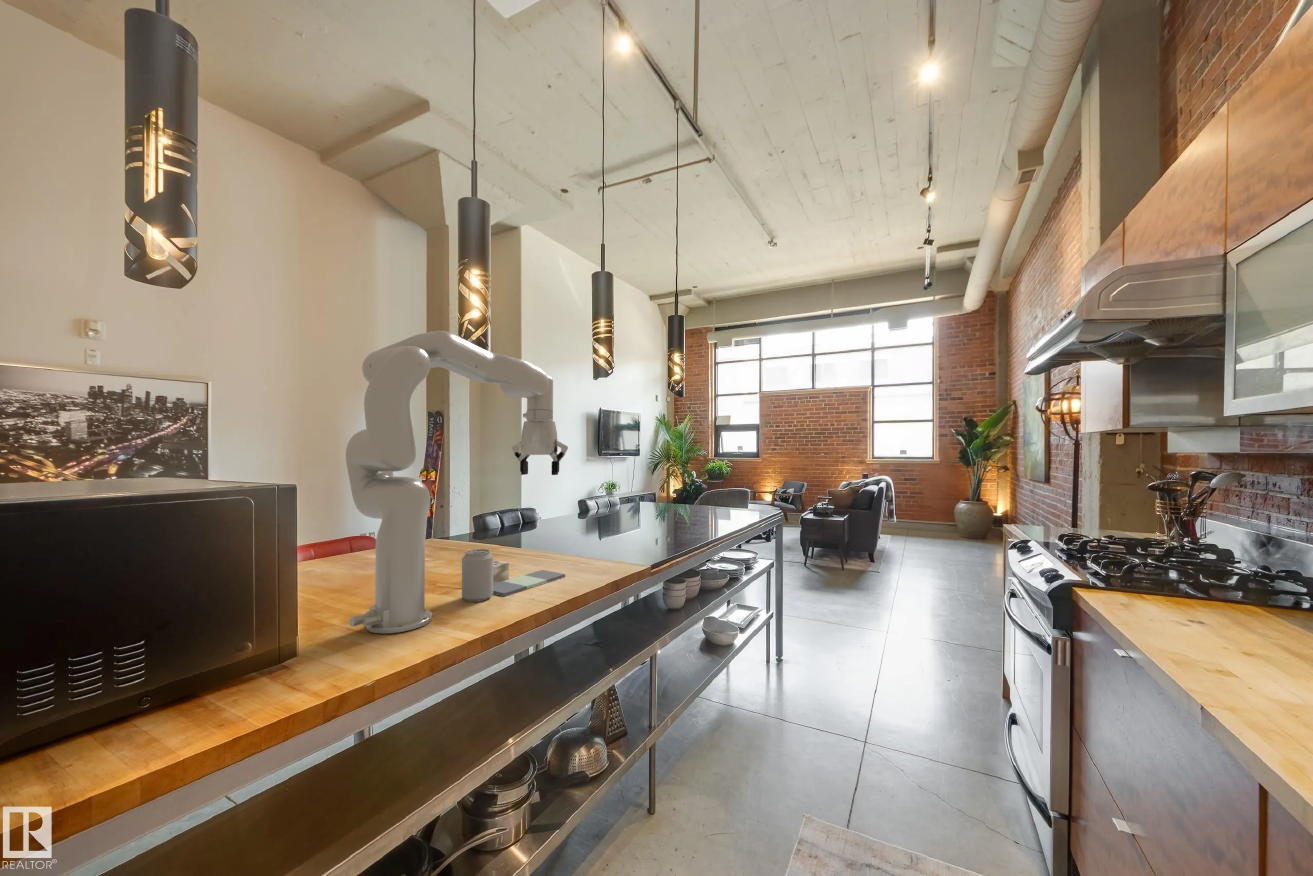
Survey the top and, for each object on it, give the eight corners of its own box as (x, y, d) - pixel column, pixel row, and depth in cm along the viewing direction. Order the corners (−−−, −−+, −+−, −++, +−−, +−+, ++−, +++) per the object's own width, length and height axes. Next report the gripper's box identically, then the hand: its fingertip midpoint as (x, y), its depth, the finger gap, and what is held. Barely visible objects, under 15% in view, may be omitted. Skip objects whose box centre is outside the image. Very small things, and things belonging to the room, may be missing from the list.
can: (486, 602, 118) (486, 553, 118) (456, 602, 118) (456, 553, 118) (497, 593, 125) (497, 547, 126) (468, 593, 126) (469, 547, 126)
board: (504, 596, 123) (504, 593, 123) (480, 590, 128) (480, 587, 128) (565, 576, 142) (565, 574, 142) (542, 572, 147) (542, 569, 147)
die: (494, 584, 135) (494, 566, 135) (483, 581, 137) (483, 563, 138) (508, 580, 139) (508, 562, 139) (497, 577, 142) (497, 560, 142)
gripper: (506, 416, 141) (506, 475, 140) (562, 415, 137) (562, 475, 137) (519, 418, 148) (518, 473, 147) (572, 417, 144) (571, 474, 144)
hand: (539, 474), depth 142 cm, fingers open, 9 cm apart
